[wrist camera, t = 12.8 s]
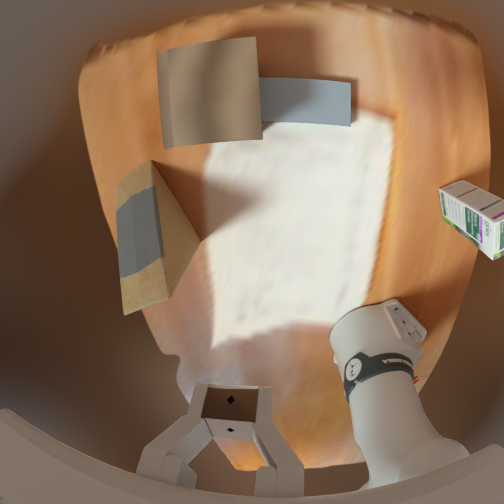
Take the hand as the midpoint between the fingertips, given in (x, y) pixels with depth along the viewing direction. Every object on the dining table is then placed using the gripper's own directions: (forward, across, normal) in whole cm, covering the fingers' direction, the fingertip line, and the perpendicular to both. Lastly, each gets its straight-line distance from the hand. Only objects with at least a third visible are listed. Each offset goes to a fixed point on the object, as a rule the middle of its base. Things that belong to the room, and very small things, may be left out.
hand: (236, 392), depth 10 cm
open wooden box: (+31, +5, -13) cm, 34 cm away
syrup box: (+31, -31, +1) cm, 44 cm away
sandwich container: (+32, +17, +3) cm, 36 cm away
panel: (+32, -1, -12) cm, 34 cm away
